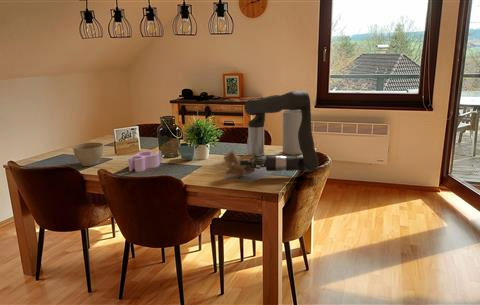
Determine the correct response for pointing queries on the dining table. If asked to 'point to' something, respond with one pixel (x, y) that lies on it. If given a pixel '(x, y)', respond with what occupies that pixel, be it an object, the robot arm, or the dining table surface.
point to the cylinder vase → (291, 131)
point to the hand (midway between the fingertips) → (240, 162)
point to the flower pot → (186, 151)
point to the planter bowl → (88, 153)
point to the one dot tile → (234, 164)
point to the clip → (144, 160)
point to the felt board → (251, 175)
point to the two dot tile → (247, 166)
